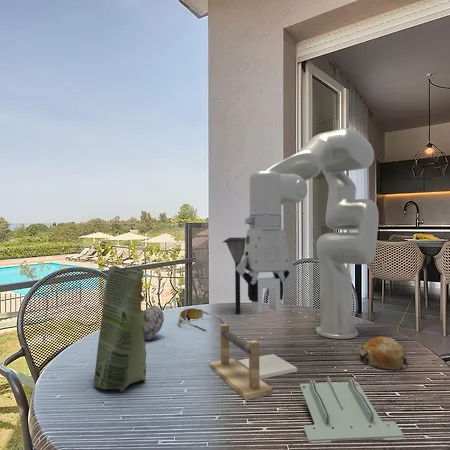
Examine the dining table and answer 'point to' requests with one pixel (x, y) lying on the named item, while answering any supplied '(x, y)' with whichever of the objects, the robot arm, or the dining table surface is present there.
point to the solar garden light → (236, 264)
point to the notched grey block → (273, 294)
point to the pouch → (121, 331)
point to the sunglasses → (193, 316)
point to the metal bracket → (344, 414)
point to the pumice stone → (153, 322)
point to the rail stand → (240, 367)
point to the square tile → (270, 366)
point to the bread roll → (384, 353)
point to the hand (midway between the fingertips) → (265, 299)
